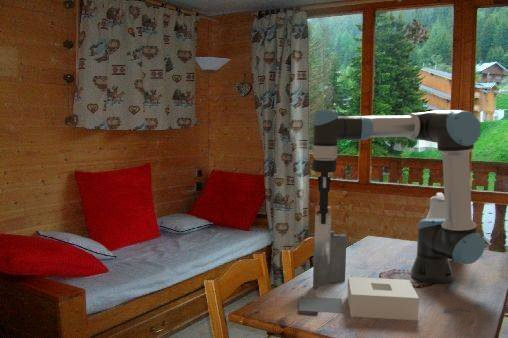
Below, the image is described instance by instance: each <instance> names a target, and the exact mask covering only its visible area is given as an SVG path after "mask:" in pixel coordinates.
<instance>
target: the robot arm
mask: <svg viewBox="0 0 508 338" xmlns="http://www.w3.org/2000/svg"><path fill="white" fill-rule="evenodd" d="M312 125H313V136H312V137H313V144H312V147H313V148H311V149H310V151H311V152H312V157H313V158H314V159H313V160H312V171H313V172H315V173H320V175H319V176H317V184H318V187H317V188H318V189H317V190H318V192H319V202H318V205H320V210H319V211H317V213H319V234H327V224H328V206H329V192H330V189H331V187H330V186H331V176H329V173H335V172H337V167H338V163H337V162H338V161H337V160H336V159H337V158H338V141H366V140H368V139H370V138H401V137H402V138H404V137H406V138H407V139H408V140H419V141H425V142H431V143H436V144H437V152H439V154H441V155H442V171H443V172H442V173H443V192H444V193H443V195H444V197H445V217H446V219H442V218H428V219H426V218H423V219H422V218H421V219H420V220H419V221H418V225H417V240H416V241H417V243H416V245H417V246H416V257H415V260H414V262H413V264H412V266H411V270H410V272H411V273H410V276H411V277H412V278H413V279H415V280H417V281H420V282H424V283H430V284H447V283H451V282H452V281H453V277H454V273H453V270H452V267H451V263H450V262H451V261H449V259H452V261H454V262H455V263H458V264H463V265H471V264H475V263H476V262H478V260H480V258H481V257H482V255H483V254H484V251H485V248H486V242H485V239H484V237H483V236H482V235H481V234H480V233H478V227H477V223H476V222H474V221H473V216H472V196H471V195H472V194H471V192H472V191H471V189H472V188H471V169H470V167H471V166H470V153H471V152H472V151H473V150H474V147H475V146H474V144H476V143H477V142H478V140H479V138H480V136H481V132H482V127H481V123H480V120H479V118H478V117H477V116H476V115H475V114H473V112H471V111H469V110H461V109H450V110H449V109H448V110H440V109H439V110H438V109H437V110H431V111H425V112H410V113H408V114H407V115H339V111H338V110H337V109H317V110H315V111H314V114H313V123H312Z"/></svg>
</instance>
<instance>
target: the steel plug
mask: <svg viewBox="0 0 508 338" xmlns="http://www.w3.org/2000/svg"><path fill="white" fill-rule="evenodd" d="M319 210H320V205H319V204H318V205H315V209H314V212H315V214H314V216H315V217H314V240H315V245H314V244H313V263H316V264H321V265H325V264H329V263H330V235H331V229H332V206H330V205H328V224H327V234H319V213H317V211H319Z"/></svg>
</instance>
